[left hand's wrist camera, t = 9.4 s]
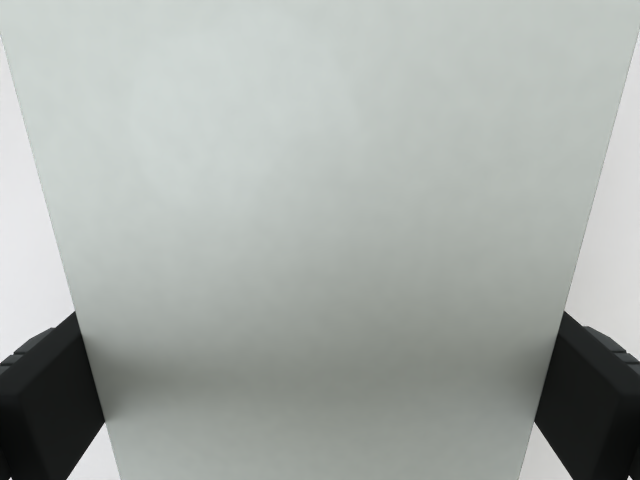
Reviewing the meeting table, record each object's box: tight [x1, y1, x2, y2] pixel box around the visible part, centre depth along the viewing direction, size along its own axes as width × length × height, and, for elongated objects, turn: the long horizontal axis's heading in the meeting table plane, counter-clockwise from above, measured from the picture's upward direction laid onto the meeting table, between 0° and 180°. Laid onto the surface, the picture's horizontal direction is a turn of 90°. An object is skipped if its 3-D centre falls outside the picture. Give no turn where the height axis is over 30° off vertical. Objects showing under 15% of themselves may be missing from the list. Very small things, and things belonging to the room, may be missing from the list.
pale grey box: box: [0, 0, 640, 480], centre depth 11 cm, size 20×11×8 cm, turn 0°
